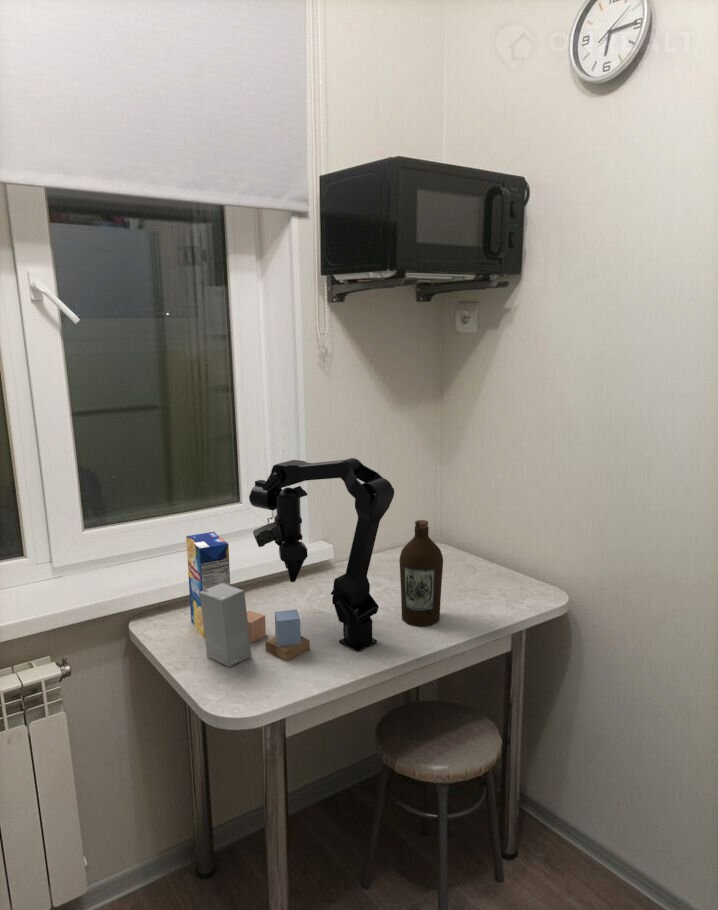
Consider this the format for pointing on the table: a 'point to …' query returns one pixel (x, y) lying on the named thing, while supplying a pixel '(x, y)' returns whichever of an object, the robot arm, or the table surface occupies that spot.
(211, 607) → the skincare box
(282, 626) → the slate block
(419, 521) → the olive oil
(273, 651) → the walnut slab
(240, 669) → the table surface
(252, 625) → the terracotta block
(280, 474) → the robot arm
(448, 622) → the table surface
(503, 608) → the table surface
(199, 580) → the beverage box
